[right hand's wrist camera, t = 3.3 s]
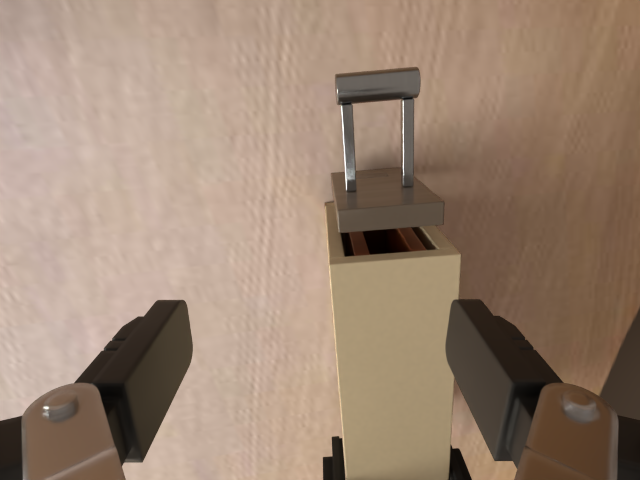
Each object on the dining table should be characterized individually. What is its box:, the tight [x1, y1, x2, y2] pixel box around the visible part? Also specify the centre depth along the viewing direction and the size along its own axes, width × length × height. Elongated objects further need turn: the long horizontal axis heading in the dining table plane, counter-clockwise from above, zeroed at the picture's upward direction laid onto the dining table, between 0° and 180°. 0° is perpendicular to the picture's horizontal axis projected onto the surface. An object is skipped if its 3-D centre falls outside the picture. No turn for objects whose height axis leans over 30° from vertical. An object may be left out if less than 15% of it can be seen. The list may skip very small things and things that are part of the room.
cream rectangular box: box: [325, 202, 461, 480], centre depth 27 cm, size 20×6×11 cm, turn 5°
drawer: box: [331, 67, 444, 257], centre depth 25 cm, size 25×5×9 cm, turn 5°
